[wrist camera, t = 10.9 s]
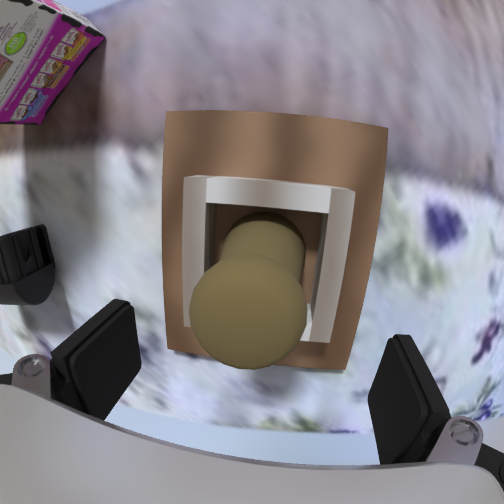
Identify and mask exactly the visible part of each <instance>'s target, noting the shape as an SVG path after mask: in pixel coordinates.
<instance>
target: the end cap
mask: <svg viewBox="0 0 504 504" xmlns="http://www.w3.org/2000/svg"><path fill="white" fill-rule="evenodd" d="M54 268H55V265H54V258H53V255H52V251H51V247H50V243H49V239H48V234H47V230H46V227H45V226H44V225H43V224H41V225H37V226H33V227H30V228H26V229H23V230H19V231H16V232H12V233H9V234H5V235H3V236H0V304H5V305H38V304H41V303H43V302H44V301H45V300H46V299H47V298H48V297H49V295H50V293H51V291H52V288H53V285H54Z"/></svg>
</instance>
